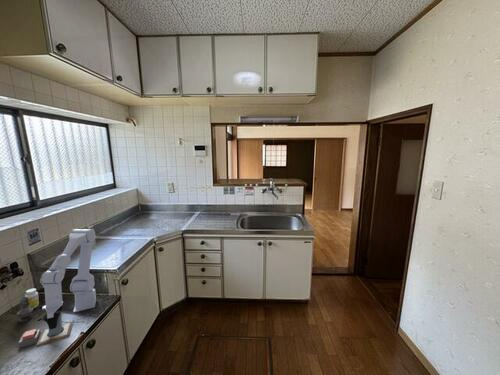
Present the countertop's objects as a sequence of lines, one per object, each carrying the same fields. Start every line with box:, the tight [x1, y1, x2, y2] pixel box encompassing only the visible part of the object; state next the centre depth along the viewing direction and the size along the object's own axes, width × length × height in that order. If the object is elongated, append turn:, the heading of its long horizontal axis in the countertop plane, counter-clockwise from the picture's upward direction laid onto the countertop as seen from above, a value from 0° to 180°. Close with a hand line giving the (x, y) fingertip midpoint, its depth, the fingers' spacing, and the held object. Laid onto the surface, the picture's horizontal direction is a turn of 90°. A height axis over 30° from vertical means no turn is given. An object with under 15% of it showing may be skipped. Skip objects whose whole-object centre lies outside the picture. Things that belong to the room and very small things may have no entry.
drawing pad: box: [36, 321, 74, 347], centre depth 101 cm, size 11×10×1 cm
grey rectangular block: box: [47, 310, 63, 336], centre depth 101 cm, size 4×4×9 cm
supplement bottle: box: [24, 287, 40, 309], centre depth 119 cm, size 5×5×10 cm
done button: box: [21, 328, 37, 340], centre depth 97 cm, size 4×4×2 cm
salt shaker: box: [16, 295, 34, 322], centre depth 110 cm, size 6×6×12 cm
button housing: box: [18, 328, 41, 349], centre depth 97 cm, size 6×6×3 cm
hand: (55, 322), depth 101 cm, fingers open, 7 cm apart
